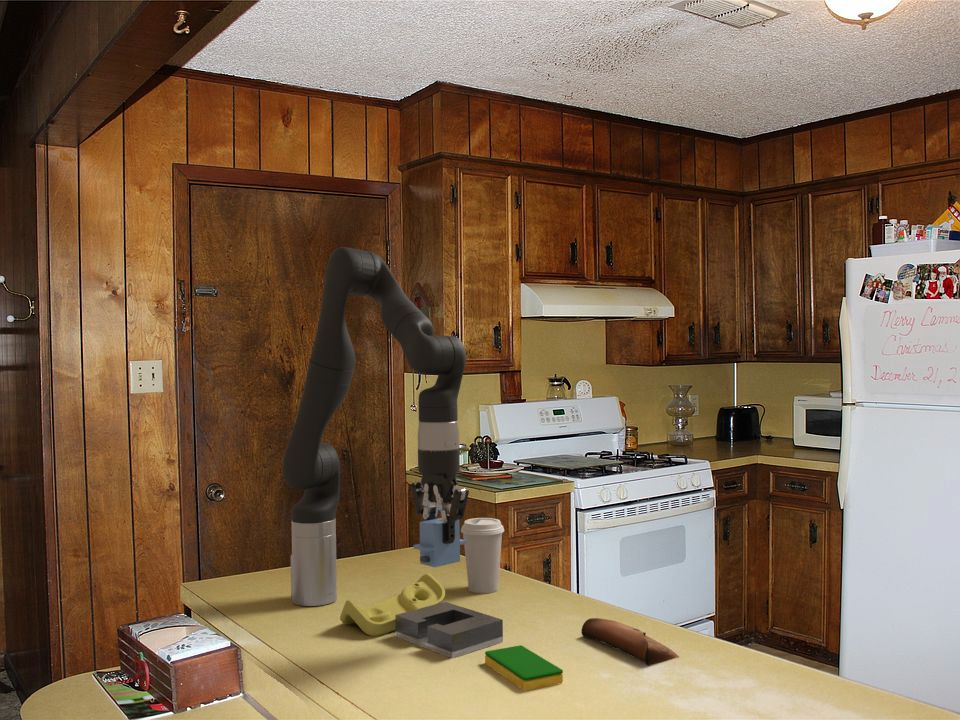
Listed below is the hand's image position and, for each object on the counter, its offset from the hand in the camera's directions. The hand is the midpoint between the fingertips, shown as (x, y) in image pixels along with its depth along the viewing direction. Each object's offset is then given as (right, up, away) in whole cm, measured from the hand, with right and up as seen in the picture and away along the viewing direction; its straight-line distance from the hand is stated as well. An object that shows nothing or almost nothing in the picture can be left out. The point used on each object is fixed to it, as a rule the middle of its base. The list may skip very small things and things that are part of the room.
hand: (440, 540), depth 158 cm
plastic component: (-9, -19, +12) cm, 24 cm away
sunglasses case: (+34, -19, -4) cm, 39 cm away
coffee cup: (+8, -18, +34) cm, 40 cm away
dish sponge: (+14, -19, -15) cm, 28 cm away
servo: (0, -4, 0) cm, 4 cm away
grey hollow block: (+1, -18, +1) cm, 18 cm away
